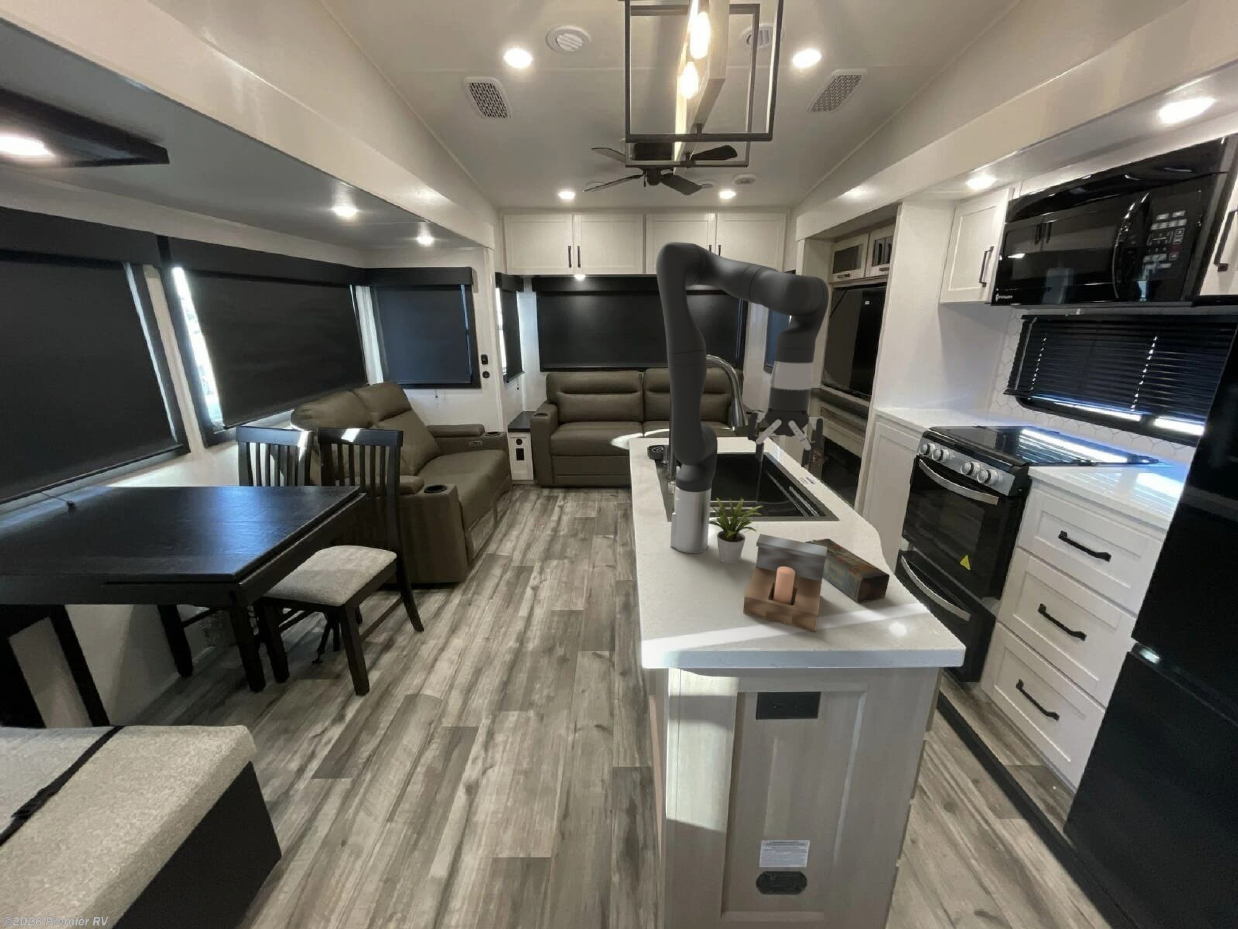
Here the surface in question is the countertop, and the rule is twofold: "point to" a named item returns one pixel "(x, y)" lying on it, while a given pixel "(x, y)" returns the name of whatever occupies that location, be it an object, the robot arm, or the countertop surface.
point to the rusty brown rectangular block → (852, 573)
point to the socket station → (805, 588)
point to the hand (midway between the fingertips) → (781, 463)
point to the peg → (784, 585)
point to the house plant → (732, 531)
